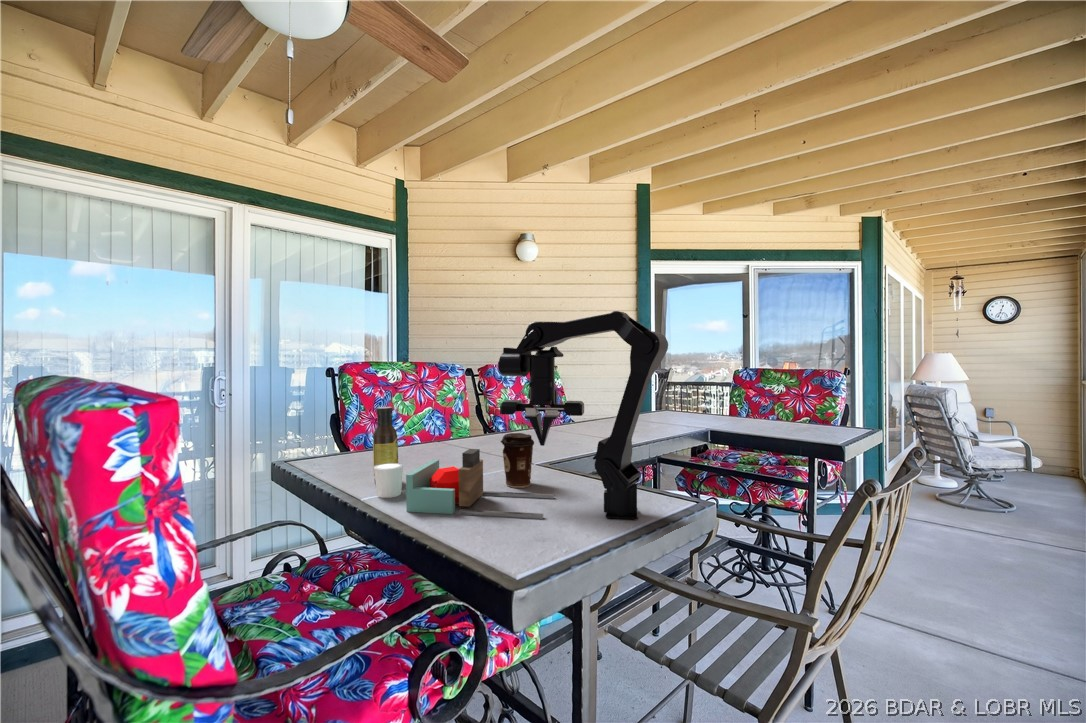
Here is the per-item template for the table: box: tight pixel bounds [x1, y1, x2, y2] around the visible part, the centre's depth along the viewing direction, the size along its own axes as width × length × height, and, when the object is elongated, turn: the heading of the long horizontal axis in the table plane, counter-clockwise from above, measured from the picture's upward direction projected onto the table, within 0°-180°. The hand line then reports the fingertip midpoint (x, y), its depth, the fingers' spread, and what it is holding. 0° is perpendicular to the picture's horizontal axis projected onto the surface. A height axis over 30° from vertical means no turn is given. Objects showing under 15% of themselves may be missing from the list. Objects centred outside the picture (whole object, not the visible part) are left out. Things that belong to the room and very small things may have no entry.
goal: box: [405, 459, 456, 515], centre depth 114 cm, size 10×15×8 cm
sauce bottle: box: [372, 406, 399, 484], centre depth 132 cm, size 6×6×20 cm
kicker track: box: [458, 490, 555, 520], centre depth 112 cm, size 18×15×1 cm
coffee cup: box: [500, 432, 535, 489], centre depth 129 cm, size 9×8×13 cm
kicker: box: [458, 448, 484, 507], centre depth 113 cm, size 2×10×11 cm, turn 170°
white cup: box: [373, 462, 404, 499], centre depth 121 cm, size 7×7×7 cm
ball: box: [430, 466, 460, 505], centre depth 115 cm, size 8×8×8 cm
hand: (542, 445), depth 114 cm, fingers closed
